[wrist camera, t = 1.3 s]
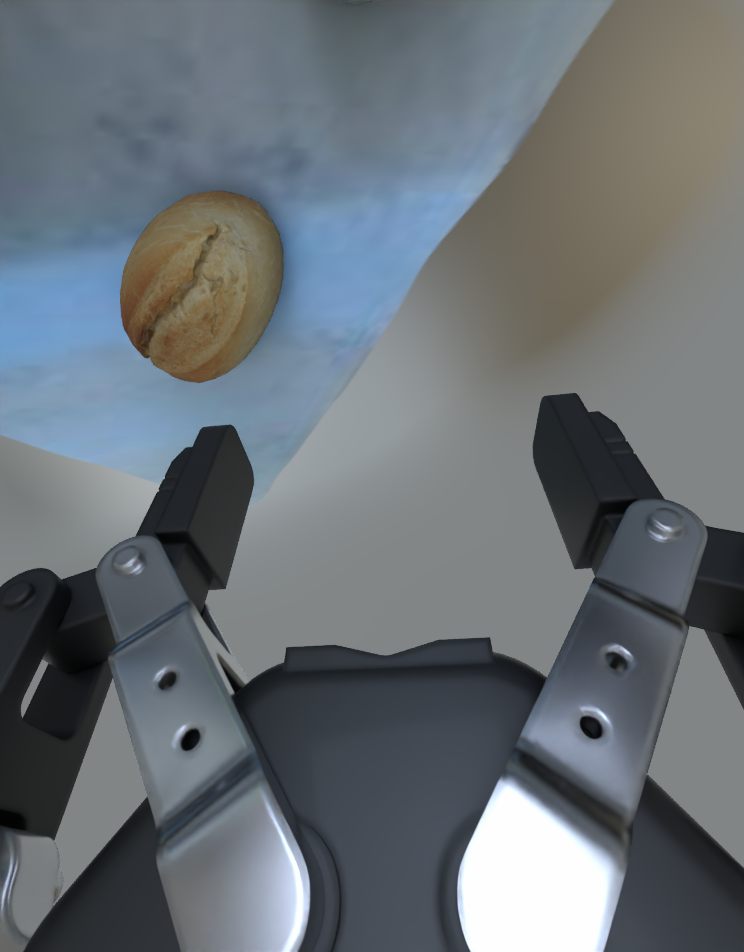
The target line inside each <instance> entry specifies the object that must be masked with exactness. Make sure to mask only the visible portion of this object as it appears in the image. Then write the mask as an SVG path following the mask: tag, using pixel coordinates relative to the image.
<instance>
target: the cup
mask: <svg viewBox="0 0 744 952" xmlns="http://www.w3.org/2000/svg"><path fill="white" fill-rule="evenodd" d="M340 1H343V2H345V3H347V4H362V3H367V2H372V1H374V0H340Z"/></svg>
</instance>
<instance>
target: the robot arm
mask: <svg viewBox="0 0 744 952" xmlns="http://www.w3.org/2000/svg"><path fill="white" fill-rule="evenodd" d="M533 459H534V464H535V467H536V470H537V472H538V475H539V478H540V480H541V483H542V485H543V488H544V491H545V493H546V496H547V498H548V501H549V504H550V506H551V509H552V511H553V514H554V517H555V519H556V522H557V524H558V527H559V530H560V532H561V535H562V538H563V540H564V543H565V545H566V548H567V551H568V553H569V556H570V558H571V561H572V564H573V566H574V569H583V568H592V570H593V573H594V575H595V578H594V579H593V581H592V583H591V586H590V588H589V590H588V592H587V594H586V596H585V598H584V601H583V603H582V605H581V607H580V609H579V611H578V614H577V615H576V618H575V620H574V622H573V624H572V626H571V628H570V631H569V632H568V635H567V637H566V639H565V641H564V643H563V645H562V647H561V650H560V652H559V654H558V656H557V658H556V660H555V662H554V664H553V667H552V669H551V671H550V673H549V675H548V677H545V676H544V675H543V674H541V673H540V672H539V671H537V670H535V669H534V668H532V667H530V666H529V665H527V664H525V663H523V662H521V661H519V660H516V659H515V658H512V657H509V656H506V655H503V654H499V653H495V652H493V651H492V646H491V640H490V637H489V638H470V639H469V638H468V639H448V640H437V641H434V642H430V643H427V644H424V645H421V646H418V647H415V648H412V649H408V650H405V651H402V652H399V653H396V654H392V655H388V656H384V655H378V654H373V653H369V652H364V651H360V650H355V649H351V648H346V647H342V646H337V645H325V646H304V647H288V648H286V654H285V661H284V663H281V664H278V665H276V666H274V667H272V668H270V669H268V670H266V671H264V672H263V673H261V674H259V675H258V676H256V677H255V678H253V679H252V680H251V681H249V679H248V677H247V676H246V674H245V673H244V671H243V670H242V668H241V667H240V665H239V663H238V662H237V660H236V658H235V656H234V654H233V652H232V651H231V649H230V647H229V645H228V643H227V641H226V639H225V637H224V635H223V634H222V632H221V630H220V628H219V626H218V624H217V622H216V620H215V618H214V617H213V615H212V613H211V611H210V609H209V607H208V606H207V604H206V603H205V600H206V597H207V593H208V590H217V589H226V585H227V581H228V578H229V574H230V571H231V567H232V563H233V560H234V556H235V552H236V549H237V545H238V541H239V538H240V534H241V531H242V527H243V523H244V520H245V516H246V512H247V508H248V505H249V501H250V498H251V494H252V490H253V485H254V476H253V470H252V466H251V464H250V461H249V459H248V457H247V454H246V452H245V450H244V447H243V445H242V443H241V440H240V438H239V436H238V433H237V431H236V429H235V428H234V426H232V425H221V426H210V427H203V428H201V430H200V431H199V434H198V436H197V438H196V440H195V442H194V445H193V447H187V448H185V449H184V450H183V451H182V452H181V453H180V454H179V455H178V456H177V457H176V458H175V459H174V460H173V461H172V462H171V465H170V467H169V469H168V471H167V473H166V475H165V479H163V481H162V483H161V485H160V487H159V492H157V494H156V496H155V497H154V500H153V502H152V504H151V506H150V508H149V510H148V512H147V514H146V516H145V518H144V520H143V522H142V524H141V526H140V528H139V530H138V532H137V534H136V536H135V537H132V538H129V539H126V540H124V541H122V542H120V543H119V544H117V545H116V546H114V547H113V548H112V549H110V550H109V551H108V552H107V553H106V554H105V555H104V557H103V558H102V559H101V561H100V562H99V564H98V566H97V568H94V569H92V570H89V571H86V572H83V573H80V574H77V575H74V576H71V577H68V578H65V579H62V580H61V579H60V578H59V577H58V576H57V575H56V574H54V573H53V572H52V571H51V570H48V569H44V568H37V569H32V570H28V571H25V572H23V573H21V574H19V575H17V576H15V577H13V578H12V579H10V580H8V581H7V582H6V583H4V584H3V585H2V586H1V587H0V952H744V868H743V867H742V866H741V865H740V864H739V863H738V862H737V861H736V860H735V859H734V858H733V857H732V856H731V855H730V854H729V853H728V852H727V851H726V850H725V849H724V848H723V847H722V846H721V845H720V844H719V843H718V842H717V841H715V840H714V839H713V838H712V837H711V836H710V835H709V834H708V833H707V832H706V831H705V830H704V829H703V828H702V827H701V826H700V825H699V824H698V823H697V822H696V821H695V820H694V819H693V818H692V817H691V816H690V815H689V814H687V812H686V811H685V810H684V809H683V808H681V807H680V806H679V805H678V804H677V803H676V802H675V801H674V800H673V799H672V798H671V797H670V796H669V795H668V794H667V793H666V792H665V791H664V790H663V789H662V788H661V787H660V786H659V785H658V784H657V783H656V782H655V781H654V780H653V779H652V778H651V777H650V776H649V775H647V773H648V769H649V766H650V763H651V759H652V755H653V752H654V749H655V745H656V742H657V738H658V734H659V732H660V728H661V725H662V721H663V717H664V714H665V711H666V707H667V704H668V700H669V697H670V694H671V690H672V687H673V683H674V679H675V676H676V673H677V669H678V666H679V663H680V659H681V656H682V652H683V649H684V645H685V642H686V638H687V635H688V630H689V626H692V627H697V628H701V629H704V630H705V632H706V634H707V636H708V638H709V640H710V642H711V644H712V646H713V648H714V650H715V652H716V654H717V656H718V658H719V660H720V662H721V664H722V667H723V668H724V671H725V673H726V675H727V676H728V679H729V681H730V683H731V685H732V687H733V689H734V691H735V692H736V695H737V697H738V699H739V701H740V703H741V705H742V707H743V709H744V533H742V532H736V531H730V530H724V529H718V528H713V527H708V526H705V525H704V523H703V522H702V520H701V519H700V518H699V517H698V516H697V515H696V514H695V513H693V512H692V511H691V510H689V509H688V508H686V507H684V506H682V505H680V504H677V503H675V502H672V501H669V500H665V499H664V498H663V496H662V494H661V493H660V491H659V490H658V488H657V487H656V485H655V484H654V482H653V480H652V479H651V477H650V476H649V474H648V473H647V471H646V469H645V468H644V467H643V465H642V463H641V462H640V460H639V459H638V457H637V455H636V454H634V453H633V449H632V448H631V446H630V445H629V443H628V442H626V440H625V437H624V435H623V434H622V432H621V431H620V429H619V428H618V426H617V424H616V423H614V422H613V421H612V420H610V419H609V418H608V417H606V416H605V415H603V414H602V413H601V412H599V411H597V412H588V411H587V409H586V407H585V406H584V404H583V402H582V401H581V399H580V397H579V396H578V395H577V394H576V393H571V394H560V395H549V396H544V397H543V398H542V400H541V404H540V408H539V414H538V419H537V425H536V430H535V436H534V441H533ZM42 659H43V660H45V661H46V662H48V663H49V664H48V666H47V668H46V670H45V672H44V674H43V676H42V679H41V681H40V683H39V685H38V687H37V689H36V692H35V693H34V696H33V698H32V700H31V702H30V704H29V706H28V708H27V710H26V713H25V715H24V717H23V719H22V716H21V704H22V700H23V698H24V695H25V693H26V691H27V689H28V687H29V685H30V683H31V681H32V679H33V677H34V675H35V672H36V671H37V669H38V666H39V664H40V662H41V660H42ZM112 678H113V679H114V683H115V686H116V690H117V693H118V696H119V700H120V703H121V707H122V710H123V714H124V717H125V720H126V724H127V727H128V731H129V734H130V738H131V741H132V744H133V748H134V751H135V755H136V758H137V762H138V765H139V769H140V772H141V775H142V779H143V782H144V786H145V789H146V793H147V798H146V799H145V800H144V801H143V802H142V803H141V805H140V806H139V807H138V808H137V809H136V810H135V812H134V813H133V814H132V815H131V816H130V817H129V819H128V820H127V821H126V822H125V823H124V825H123V826H122V827H121V828H120V829H119V830H118V832H117V833H116V834H115V835H114V836H113V837H112V838H111V840H110V841H109V842H108V843H107V844H106V845H105V847H104V848H103V849H102V850H101V851H100V853H99V854H98V855H97V856H96V857H95V858H94V859H93V861H92V862H91V863H90V864H89V865H88V867H87V868H86V869H85V870H84V871H83V872H82V874H81V875H80V876H79V877H78V878H77V879H76V881H75V882H74V883H73V884H72V885H71V886H70V888H69V889H68V890H67V891H66V892H65V893H64V895H63V896H62V897H61V898H60V899H59V900H58V902H57V903H56V904H55V905H54V906H53V904H54V903H55V901H56V900H57V898H58V897H59V895H60V892H61V890H62V887H63V874H62V872H61V871H60V870H59V864H60V858H59V851H58V848H57V846H56V843H55V842H54V840H55V837H56V834H57V831H58V828H59V825H60V823H61V820H62V817H63V815H64V812H65V809H66V806H67V803H68V801H69V798H70V795H71V792H72V789H73V787H74V784H75V781H76V778H77V775H78V773H79V770H80V767H81V764H82V762H83V759H84V756H85V753H86V750H87V748H88V745H89V742H90V739H91V737H92V734H93V731H94V728H95V725H96V723H97V720H98V717H99V714H100V712H101V709H102V706H103V703H104V700H105V698H106V695H107V692H108V689H109V686H110V683H111V681H112Z"/></svg>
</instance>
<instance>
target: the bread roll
mask: <svg viewBox="0 0 744 952" xmlns="http://www.w3.org/2000/svg"><path fill="white" fill-rule="evenodd" d="M283 267H284V263H283V247H282V242H281V239H280V233H279V231H278V229H277V228H276V226H275V224H274V222H273V221H272V220H271V218H270V217H269V215H268V213H267V212H266V211H265V210H264V208H263V207H262V206H261V205H260V204H259V202H255V201H254V200H252V199H251V198H247V197H244V196H242V195H238V194H234V193H230V192H226V191H212V192H203V193H198V194H193V195H188V196H186V197H184V198H183V199H181V200H180V201H178V202H176V203H175V204H173V205H172V206H170V207H169V208H167V209H166V210H164V211H162V212H161V213H159V214H158V215H157V216H156V217H155V218H154V219H153V220H152V221H151V222H150V223H149V225H148V226H147V227H146V229H145V230H144V231H143V233H142V234H141V236H140V237H139V239H138V240H137V242H136V243H135V245H134V247H133V249H132V251H131V253H130V255H129V257H128V260H127V262H126V265H125V268H124V271H123V276H122V284H121V291H120V304H121V318H122V323H123V327H124V330H125V331H126V333H127V335H128V337H129V339H130V341H131V342H132V344H133V345H134V347H135V348H136V349H137V350H138V351H139V352H140V353H141V355H143V357H144V358H149V357H150V359H151V361H152V363H153V365H155V366H156V367H158V368H160V369H162V370H163V371H165V372H166V373H169V374H170V375H171V376H173V377H175V378H178V379H181V380H184V381H189V382H195V383H201V382H205V381H208V380H212V379H216V378H217V377H219V376H221V375H224V374H226V373H227V372H229V371H230V370H232V369H233V368H235V367H236V366H237V365H238V364H239V363H240V362H241V361H242V360H244V359H245V358H246V357H247V355H248V354H249V353H250V352H251V350H252V349H253V348H254V346H255V345H256V344H257V342H258V341H259V339H260V337H261V336H262V334H263V332H264V330H265V328H266V326H267V325H268V323H269V321H270V319H271V317H272V314H273V312H274V309H275V306H276V304H277V301H278V298H279V294H280V290H281V285H282V279H283Z"/></svg>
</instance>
